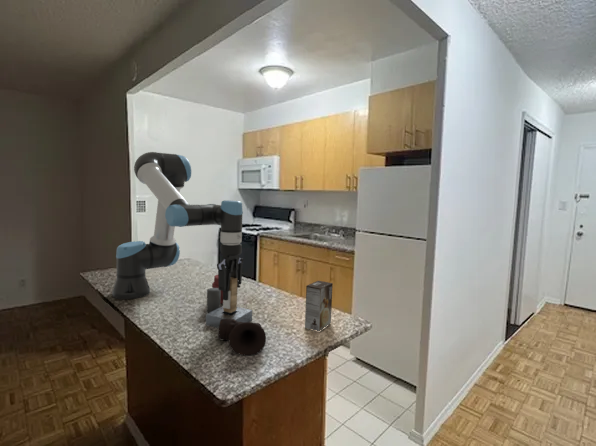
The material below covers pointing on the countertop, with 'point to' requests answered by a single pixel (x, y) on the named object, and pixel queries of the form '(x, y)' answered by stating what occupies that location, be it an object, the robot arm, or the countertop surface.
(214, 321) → the socket block
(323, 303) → the coffee box
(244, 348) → the pipe
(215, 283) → the mechanical component
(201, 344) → the countertop surface
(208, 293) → the gray capsule
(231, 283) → the oak peg
